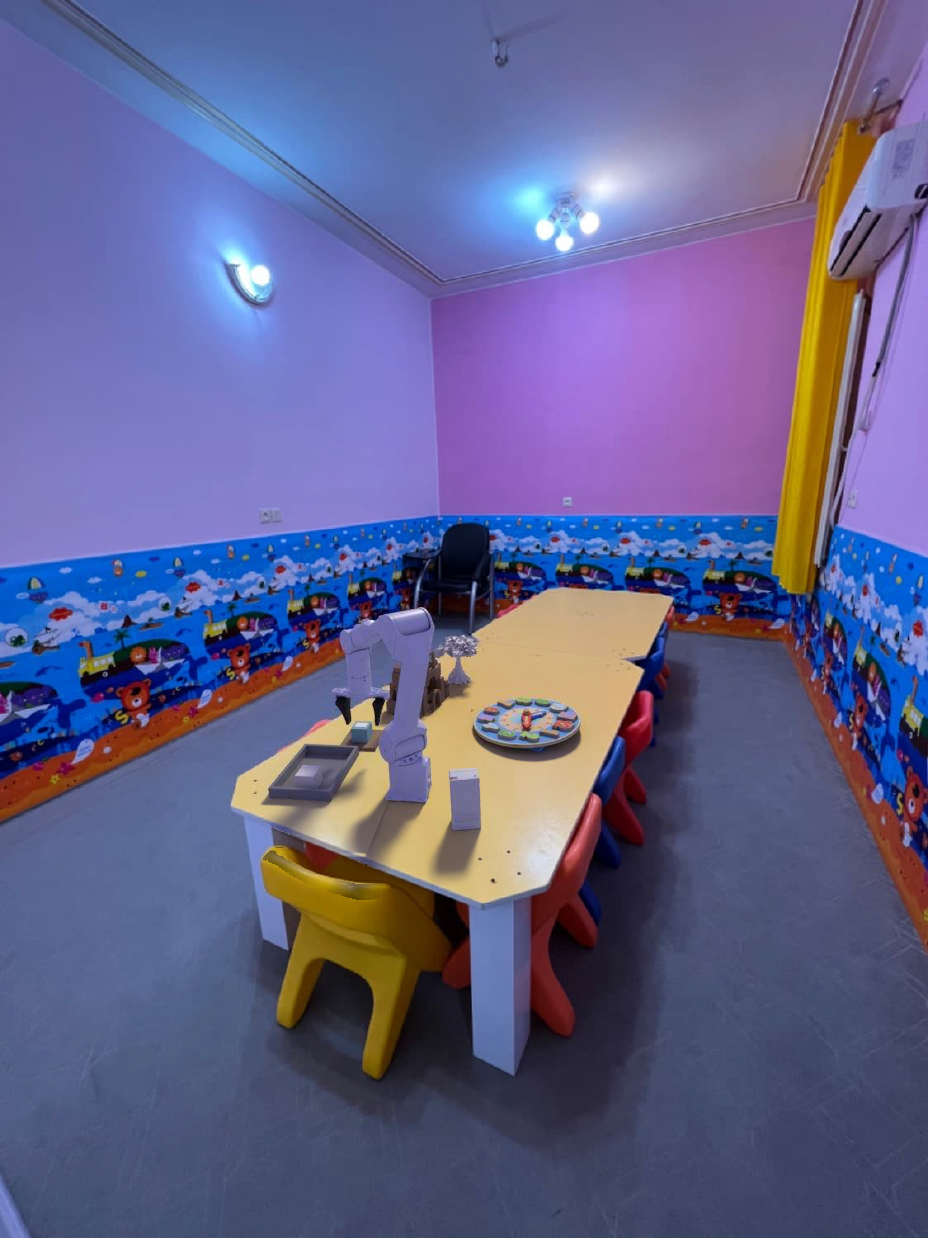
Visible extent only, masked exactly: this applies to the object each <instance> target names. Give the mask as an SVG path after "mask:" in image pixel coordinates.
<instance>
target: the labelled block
mask: <svg viewBox="0 0 928 1238" xmlns="http://www.w3.org/2000/svg"><path fill="white" fill-rule="evenodd" d="M350 730H351V738H352V742H362V743H368V742H369V740H370V738H371V737H372V735H373V732H372V730H373V722H372V721H370V720H369V721H366V720H365V721H360V720H355V722H354V723H353V725H352V726H351V727H350Z"/></svg>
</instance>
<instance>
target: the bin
mask: <svg viewBox="0 0 928 1238" xmlns="http://www.w3.org/2000/svg"><path fill="white" fill-rule="evenodd" d="M359 756H360V750H359V747H358V746H347V745H340V744H323V743H322V744H320V743H317V744H316V743H304V744H303V745H302V746H301V748H300V749H298V752H297V753H296V754H295V755H294V756H293V758H292V759H290V761H289V762H288V764H287V765H286V766H285V767H284V768H283V770H282V771H281V772H280V773H279V774H278V776H277V777H276V778H275V779H274V780H273V781H272V783H270V786H268V788H267V791H268V797H269V798H270V799H280V800H281V799H283V800H299V801H301V800H302V801H313V802H314V801H317V802H318V801H319V802H333V800H334V798H335V796H336V794H337V793H338V791H339V789H340V788H341V786H342V784H343V782H344V781H345V779H346V778H347V776H348V774H349V773H350V770H351V769H352V767H354V764H355V762H356V761H357V759H358V757H359ZM303 765H317V766H321V769H322V778H323V781H322V782H321V784H320V785H319V787H318V788H317V789H315V788H296V782H295V775H296V773H297V772H298V771H299V769H300V768H301V767H302V766H303Z"/></svg>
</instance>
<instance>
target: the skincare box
mask: <svg viewBox="0 0 928 1238" xmlns="http://www.w3.org/2000/svg"><path fill="white" fill-rule="evenodd" d="M448 779H449V780H448V781H449V795H450V796H449V797H450V811H451V812H450V813H451V816H450V817H451V825H452V827H451V828H452V831H464V830H475V829H481V828H482V818H481V817H482V816H481V815H482V814H481V813H482V812H481V789H480V784H481V783H480V782H481V781H480V776H479V772H478V768H477V767H471V768H470V767H469V768H455V769H454V768H453V769H449V770H448Z"/></svg>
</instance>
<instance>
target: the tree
mask: <svg viewBox="0 0 928 1238" xmlns="http://www.w3.org/2000/svg"><path fill="white" fill-rule="evenodd" d="M444 639H445V641H443V642H441V643H440V644H438V647H435V648H434V649H433V652H434V653H435V658H437V660H439V659H440V658H441V657H442V658H443V657H444V656H445V654H447V655H448V656H449V657H451V658H452V659H453V658H455V659H456V661H455V665H454V667H453V669H452V671H450V672H449V674H448V676H447V680H446V681H447V682H448V684H450V685H452V684H454V685H455V684H456V685H463V684H465V685H467V682H468V683H469V682H471V678H472V677H470V676H469V675H468V674H467V673H466V672H465V670H464V669H463V666H462V662H461V658H462V657H463V658H472V656H476V655H477V654H478V651H477V647H479V645H478V644H479V642H474V640H475V639H474V638H471V637H468V636H467V637H466V636H465V635H460V636H457V635H449V636H448V637H447V636H444Z"/></svg>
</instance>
